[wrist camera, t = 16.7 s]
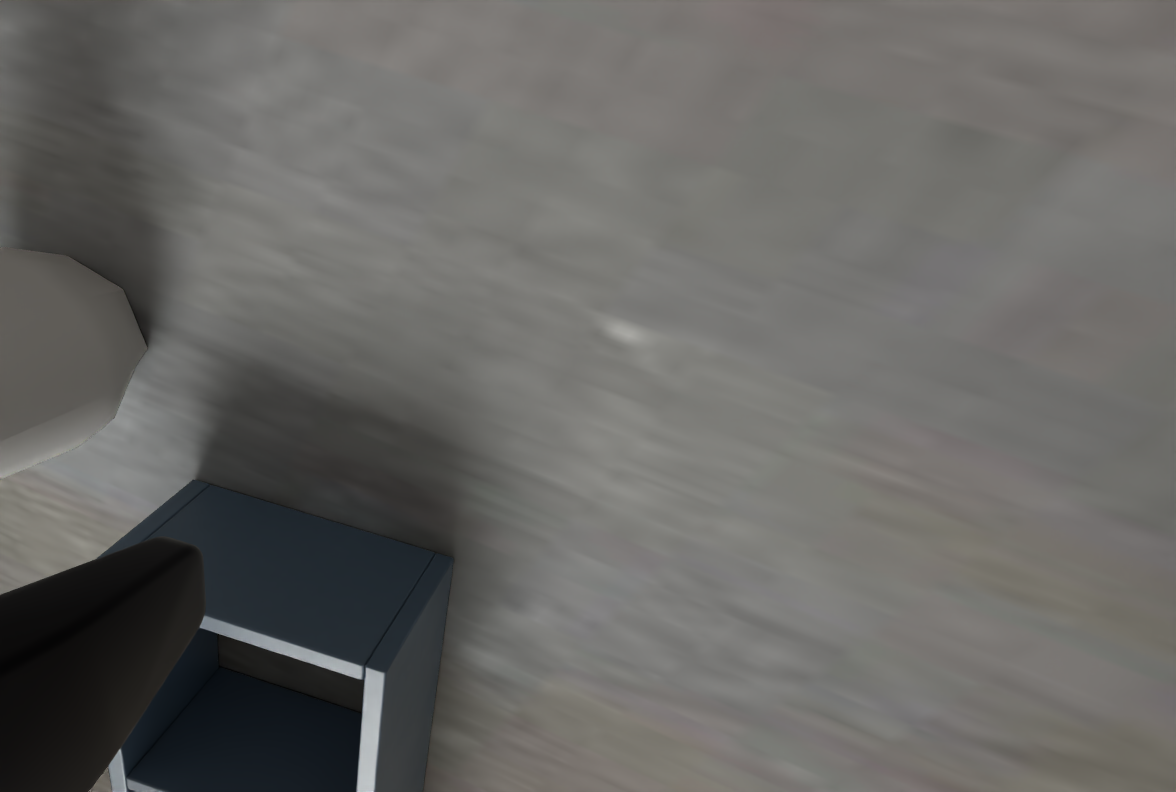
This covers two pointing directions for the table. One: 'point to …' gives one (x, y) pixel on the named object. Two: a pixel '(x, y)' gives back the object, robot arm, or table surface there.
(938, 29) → the table surface
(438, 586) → the divided storage tray
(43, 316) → the salt shaker
